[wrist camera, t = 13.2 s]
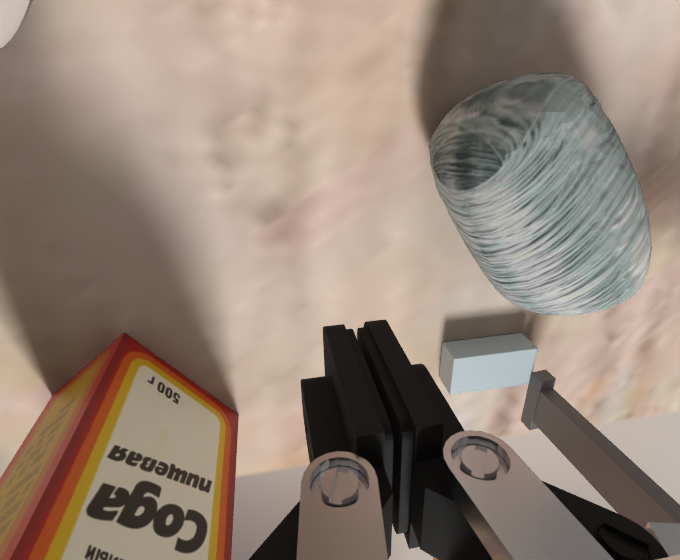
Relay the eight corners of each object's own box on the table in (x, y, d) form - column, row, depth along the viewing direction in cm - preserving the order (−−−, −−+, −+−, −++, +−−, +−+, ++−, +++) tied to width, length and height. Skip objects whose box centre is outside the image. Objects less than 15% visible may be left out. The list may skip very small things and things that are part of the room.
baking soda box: (52, 396, 27) (-175, 756, 13) (124, 332, 26) (-35, 646, 12) (172, 467, 31) (101, 799, 17) (238, 414, 30) (222, 721, 16)
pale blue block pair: (486, -107, 20) (509, -124, 18) (604, -102, 21) (637, -119, 19) (439, 376, 32) (450, 394, 30) (515, 366, 33) (530, 383, 31)
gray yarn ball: (365, 153, 21) (586, 178, 14) (473, 37, 23) (705, 7, 16) (446, 315, 30) (605, 381, 22) (517, 218, 32) (679, 249, 25)
